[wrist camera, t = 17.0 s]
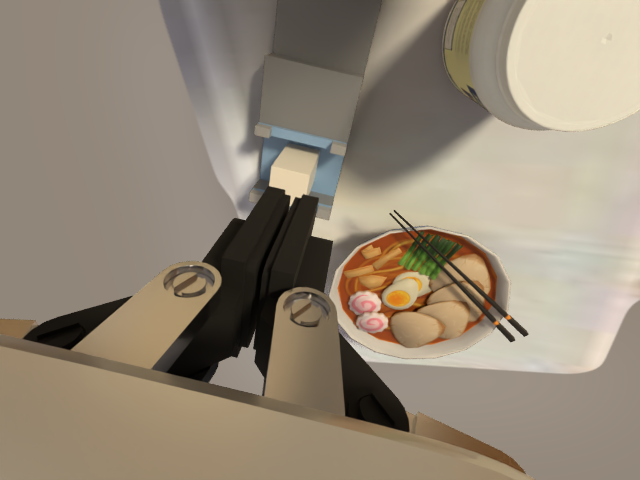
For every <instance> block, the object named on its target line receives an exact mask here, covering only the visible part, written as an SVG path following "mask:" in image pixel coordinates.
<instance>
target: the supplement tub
mask: <svg viewBox="0 0 640 480" xmlns="http://www.w3.org/2000/svg"><path fill="white" fill-rule="evenodd" d="M442 56H443V63H444V67H445V70H446V72H447V75H448V77H449V79H450V80H451V82H452V83H453V85H454V86H455V87H456V88H457V89H458V90H459V91H460V92H461V93H463V94H464V95H466V96H467V97H469V98H471V99H472V100H473V101H475V102H476V103H477V104H479V105H480V106H482V107H483V108H484V109H486V110H487V111H489V112H490V113H491V114H492V115H494V116H495V117H496V118H498V119H499V120H501V121H503V122H505V123H507V124H509V125H512V126H515V127H519V128H523V129H528V130H557V131H565V132H577V131H586V130H592V129H596V128H600V127H604V126H607V125H610V124H612V123H615V122H617V121H620V120H622V119H624V118H626V117H628V116H630V115H632V114H634V113H636V112H637V111H639V110H640V0H456V1H455V3H454V5H453V7H452V9H451V11H450V13H449V16H448V18H447V21H446V24H445V28H444V33H443V39H442Z"/></svg>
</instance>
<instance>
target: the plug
mask: <svg viewBox="0 0 640 480" xmlns="http://www.w3.org/2000/svg"><path fill="white" fill-rule="evenodd" d="M319 154H320V150H317V149H312V148H308V147H304V146H300V145H296V144H291V143H288V144H287V145H286V147H285V148H284V149H283V151H282V152H281V153H280V155H279V156H278V158H277V159H276V160H275V162H274V163H273V165H272V166H271V174H270V183H269V186H271V187H275V188H280V189H284V190H285V194H286V195H290V196H291V199H290V206H291V205H292V203H293V201H294V199H295V197H299V198H301V197H302V195H303V194H305V195H309V193H310V191H311V188H312V185H313V183H314V179H315V174H316V169H317V164H318V159H319Z"/></svg>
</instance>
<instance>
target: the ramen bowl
mask: <svg viewBox="0 0 640 480" xmlns="http://www.w3.org/2000/svg"><path fill="white" fill-rule="evenodd" d="M394 212H395V213H396V214H397V215H398V216H399V217H400V218H401V219H402V220H403V221H404V222H405V223H406V224H407V225H409V226H410V228H405V227H404V226H403V225H402V224H401V223H400V222H399V221H398V220H397V219H396V218H395V217H394V216H393V215H392V214H391V213H389V214H390V215H391V216H392V217H393V218H394V219H395V220H396V221H397V222H398V223H399V225H400V226H401V227H402V229H393V230H389V231H387V232H385V233H383V234H381V235H379V236H376V237H374V238H372V239H370V240H368V241H366V242H364V243H361V244H360V245H359V246H357V247H356V248H355V249H354V250H353V251H352V252H351V254H350V255H349V256H348V257H347V258H346V259H345V260H344V261H343V263H342V264H341V265H340V266H339V267H338V268H337V269H336V270H335V274H334V277H333V281H332V284H331V288H330V291H329V295H328V296H329V298H331V300H332V301H333V303H334V304H335V306H336V310H337V317H338V324H339V325H340V326H341V327H342V329H343V330H344V331H345V332H346V333H347V335H348V336H349V337H350V338H351V339H352V340H354V341H356V342H358V343H360V344H361V345H363V346H365V347H367V348H369V349H371V350H372V351H374V352H377V353H381V354H385V355H389V356H394V357H398V358H402V359H425V358H438V357H442V356H445V355H449V354H452V353H456V352H460V351H463V350H466V349H468V348H469V347H471V346H472V345H474V344H476V343H477V342H479V341H480V340H482V339H483V338H485V337H486V336H488V335H489V334H491V333H492V332H493V330H494V329H495V328H496V327H497V328H498V329H499V330H500V331H501V332H502V333H503V335H504V336H505V337H506V338H507V339H508V340H509V341H510V342H513V341H515V339H514V337H513V336H512V335H511V334H510V333H509V332H508V331H507V330H506V329H505V328H504V327H503V326H502V325H501V324H500V323H499V322H500V321H501V319H502V318H503V317H504V318H506V319H507V321H508V322H509V323H510V324H511V325H512V326H514V327H515V328H516V329H517V330H518V331H519V332H520V333H521V334H522V335H523V336H524V337H525V336H527V335H529V334H528V332H527V331H526V330H525V329H524V328H523V327H522V326H521V325H520V324H519V323H518V322H516V321H515V320H514V319H513V318H512V317H511V316H510V315H508V314H507V311H508V308H509V299H510V289H511V282H510V279H509V277H508V275H507V273H506V271H505V269H504V267H503V265H502V263H501V261H500V259H499V257H498V256H497V255H496V254H494V253H493V252H492V251H490V250H489V249H487V248H486V247H484V246H483V245H481V244H480V243H479V242H477V241H476V240H474V239H473V238H471V237H470V236H467V235H464V234H461V233H457V232H453V231H449V230H444V229H440V228H436V227H432V226H419V227H413V226H411V225H410V224H409V223H408V222H407V221H406V220H405V219H404V218H403V217H402V216H401V215H399V214H398V213H397V212H396V211H395V210H394Z"/></svg>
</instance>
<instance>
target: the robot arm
mask: <svg viewBox="0 0 640 480" xmlns="http://www.w3.org/2000/svg"><path fill="white" fill-rule="evenodd" d="M290 199H291V196H290V195H286V194H285V190H284V189H280V188H275V187H271V186H268V187H267V188H266V190H265V192H264V193H263V195H262V196H261V198H260V199H259V201H258V202H257V204H256V205H255V207H254V208H253V210H252V211H251V213H250V215H249V216H248V218H247V219H246V220H242V219H238V218H234V219H233V220H232V221H231V222H230V224H229V225H228V227H227V228H226V229H225V230H224V232H223V233H222V235H221V236H220V237H219V239H218V240H217V241H216V243H215V244H214V246H213V247H212V248H211V250H210V251H209V253H208V254H207V255H206V257H205V258H204V259H203V261H202V262H199V261H186V262H180V263H176V264H174V265H171V266H169V267H168V268H166V269H164V270H163V271H162V272H161V273H159V274H158V275H157V276H156V277H155V278H154V279H152V280H151V281H150V282H149V283H148V284H147V285H146V286H144V287H143V288H142V289H141V290H140V291H139V292H137V293H136V294H135V295H134V296H130V297H127V298H123V299H120V300H116V301H113V302H109V303H106V304H102V305H99V306H96V307H92V308H88V309H84V310H81V311H78V312H74V313H71V314H67V315H63V316H60V317H57V318H54V319H51V320H49V321H46V322H44V323H42V324H41V325H38V324H37V322H36V320H20V319H19V320H18V319H0V480H535V479H534V478H532V477H530V476H528V475H526V473H525V471H524V470H523V469H522V468H521V467H520V465H518V463H517V462H516V461H515V460H514V459H513V458H511V457H510V456H508V455H507V454H505V453H503V452H502V451H501V450H498V449H496V448H494V447H492V446H490V445H488V444H486V443H484V442H481V441H479V440H477V439H475V438H473V437H471V436H469V435H467V434H464V433H463V432H460V431H458V430H456V429H454V428H452V427H450V426H448V425H446V424H444V423H441V422H439V421H437V420H435V419H433V418H431V417H429V416H426V415H424V414H422V413H420V412H418V413H417V414H416V415H413V414H411V413H409V412H407V411H405V408H404V407H403V405H402V404H401V402H400V401H399V399H398V398H397V397H396V396H395V395H394V394H393V392H392V391H391V390H390V389H389V388H388V387H387V386H386V385H385V383H384V382H383V381H382V380H381V379H380V378H379V377H378V376H377V375H376V373H375V372H374V371H373V370H372V369H371V368H370V367H369V365H368V364H367V363H366V362H365V361H364V360H363V359H362V358H361V356H360V355H359V354H358V353H357V352H356V351H355V350H354V348H353V347H352V346H351V345H350V344H349V343H348V342H347V341H346V339H345V338H344V337H343V336H342V335H341V334H340V333H339V329H338V317H337V310H336V306H335V304H334V303H333V301H332V300H331V298H329V297H328V296H327V295H326V294H324V289H325V283H326V278H327V272H328V266H329V261H330V255H331V250H332V244H333V241H330V240H326V239H322V238H318V237H313V236H311V235H312V230H313V225H314V221H315V216H316V211H317V207H318V202H319V198H318V197H313V196H309V195H305V194H303V195H302V197H301V198H299V197H295V199H294V201H293V203H292V205H291V208H290V210H289V206H290ZM255 329H256V331H255ZM254 332H255V339H254V347H253V349H255V350H256V355H255V364H256V365H257V367H258V368H259V370H260V372H261V373H262V375H263V376H264V384H263V391H262V396H259V395H255V394H252V393H247V392H243V391H239V390H235V389H231V388H227V387H222V386H218V385H214V384H210V383H209V382H210V380H211V378H212V377H213V375H214V374H215V372H216V370H217V368H218V364H219V362H220V361H222V360H224V359H226V358H228V357H231V356H232V357H236V358H237V357H238V354H239V352H240V350H241V347H246V348H248V347H249V345H250V342H251V340H252V337H253V334H254Z"/></svg>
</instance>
